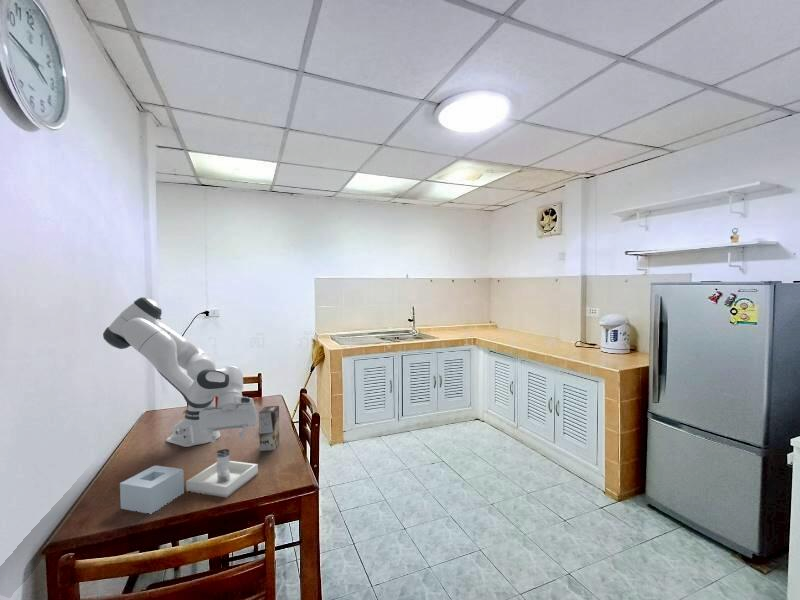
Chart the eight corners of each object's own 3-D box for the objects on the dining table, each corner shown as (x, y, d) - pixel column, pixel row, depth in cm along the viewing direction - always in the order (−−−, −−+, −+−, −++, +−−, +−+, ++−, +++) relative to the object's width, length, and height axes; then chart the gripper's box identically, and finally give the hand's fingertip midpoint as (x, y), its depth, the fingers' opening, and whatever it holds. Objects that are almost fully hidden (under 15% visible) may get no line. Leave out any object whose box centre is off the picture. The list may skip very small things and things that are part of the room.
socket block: (120, 508, 115) (119, 483, 115) (155, 488, 127) (154, 465, 127) (151, 514, 112) (150, 488, 112) (184, 492, 124) (183, 469, 123)
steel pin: (214, 481, 129) (214, 453, 128) (223, 476, 133) (222, 448, 132) (224, 483, 128) (223, 454, 127) (232, 477, 132) (231, 449, 131)
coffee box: (275, 450, 155) (274, 412, 155) (259, 451, 155) (258, 413, 154) (280, 441, 165) (279, 405, 164) (265, 442, 164) (264, 406, 163)
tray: (186, 491, 125) (186, 481, 124) (221, 468, 140) (220, 459, 140) (226, 497, 120) (226, 487, 120) (257, 473, 136) (257, 464, 136)
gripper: (198, 404, 138) (193, 440, 129) (257, 398, 145) (256, 432, 136) (201, 412, 143) (196, 447, 134) (258, 406, 149) (257, 439, 140)
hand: (227, 439), depth 135 cm, fingers open, 8 cm apart
